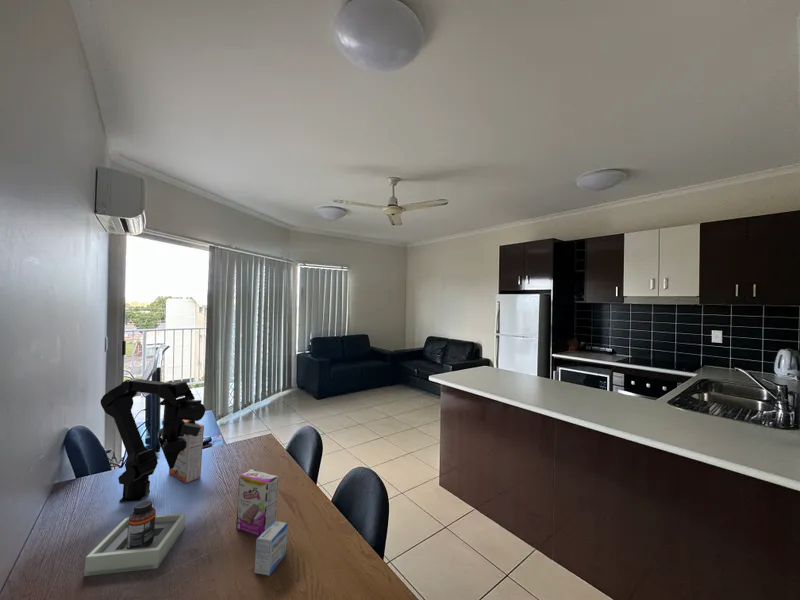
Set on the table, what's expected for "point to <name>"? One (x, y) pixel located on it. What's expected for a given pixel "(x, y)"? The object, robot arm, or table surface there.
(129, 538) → the supplement bottle
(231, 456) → the table surface
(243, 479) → the candy bar box
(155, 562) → the bore box
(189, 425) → the robot arm
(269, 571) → the medicine box
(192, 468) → the cracker box
